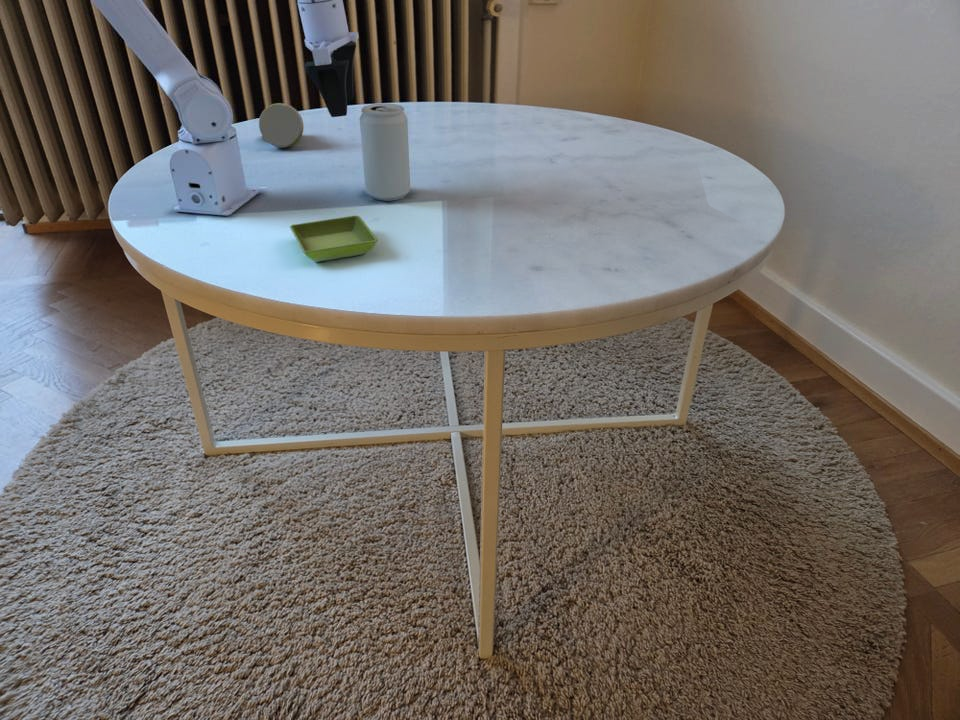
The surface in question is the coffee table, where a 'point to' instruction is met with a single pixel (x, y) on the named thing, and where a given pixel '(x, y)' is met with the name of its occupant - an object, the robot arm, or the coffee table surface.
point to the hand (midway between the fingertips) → (342, 107)
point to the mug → (281, 125)
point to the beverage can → (385, 151)
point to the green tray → (334, 238)
